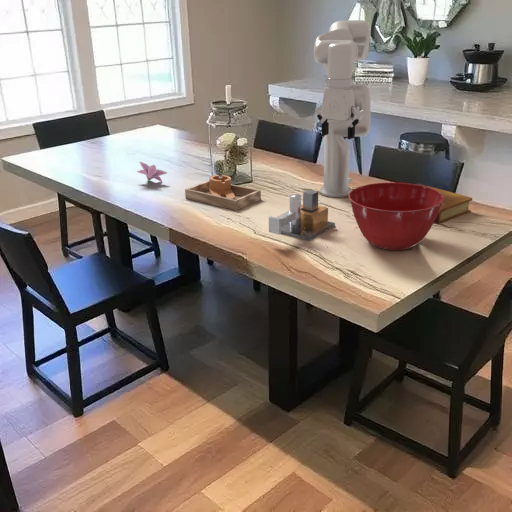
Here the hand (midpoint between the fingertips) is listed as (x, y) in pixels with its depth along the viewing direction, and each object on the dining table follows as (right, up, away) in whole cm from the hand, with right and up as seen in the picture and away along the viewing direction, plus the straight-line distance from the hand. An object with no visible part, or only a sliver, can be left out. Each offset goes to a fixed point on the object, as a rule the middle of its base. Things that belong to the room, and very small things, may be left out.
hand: (337, 136), depth 207 cm
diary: (+34, -23, +17) cm, 45 cm away
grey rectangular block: (-9, -28, +4) cm, 30 cm away
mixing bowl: (+16, -35, -10) cm, 40 cm away
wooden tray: (-40, -17, +33) cm, 54 cm away
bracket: (-40, -18, +33) cm, 55 cm away
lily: (-70, -10, +53) cm, 88 cm away
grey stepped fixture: (-14, -32, -1) cm, 35 cm away
